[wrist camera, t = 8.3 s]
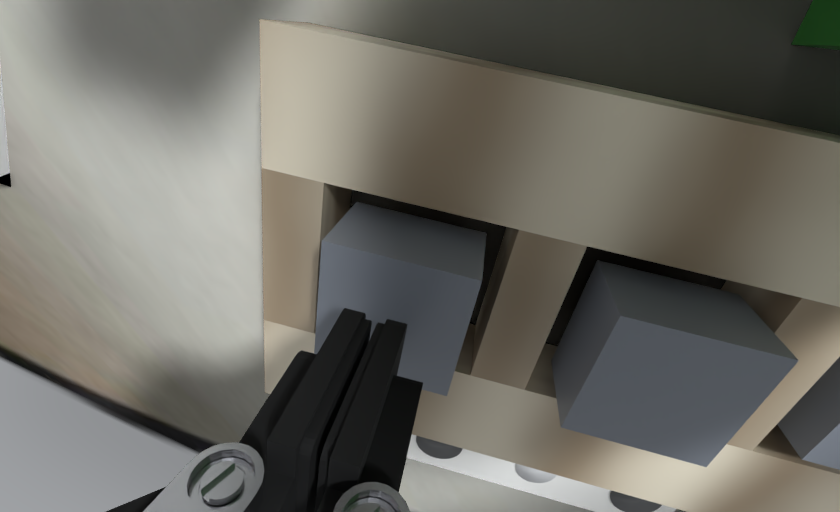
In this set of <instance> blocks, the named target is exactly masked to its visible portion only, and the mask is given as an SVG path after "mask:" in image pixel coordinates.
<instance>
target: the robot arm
mask: <svg viewBox="0 0 840 512" xmlns="http://www.w3.org/2000/svg"><path fill="white" fill-rule="evenodd" d="M365 318H366V314H365V313H363V312H359V311H355V310H351V309H347V308H344V309H343V311H342V312H341V314H340V316H339V317H338V319H337V321H336V323H335V324H334V326H333V328H332V329H331V331H330V333H329V335H328V336H327V338H326V340H325V341H324V343H323V345H322V347H321V348H320V350H319V352H318V353H317V354H314V353H310V352H306V351H302V350H301V351H299V352H298V353H297V355H296V356H295V357H294V359H293V360H292V362H291V363H290V365H289V366H288V368H287V370H286V371H285V373H284V374H283V376H282V377H281V379H280V380H279V382H278V383H277V385H276V387H275V388H274V390H273V391H272V393H271V394H270V396H269V397H268V399H267V400H266V402H265V403H264V405H263V407H262V408H261V410H260V411H259V413H258V414H257V416H256V417H255V419H254V420H253V422H252V424H251V425H250V427H249V428H248V430H247V431H246V433H245V434H244V436H243V437H242V439H241V441H240V442H239V443H238V442H235V443H222V444H219V445H215V446H212V447H210V448H208V449H206V450H204V451H203V452H201V453H199V454H198V455H197V456H196V457H195V458H194V459H192V460H191V461H190V462H189V463H188V464H187V465H186V466H185V467H184V468H183V470H182V471H181V472H180V473H179V474H178V475H177V476H176V477H175V478H174V479H173V480H172V481H171V482H170V483H169V485H168V486H167V487H165V488H162V489H160V490H157V491H155V492H152V493H150V494H148V495H145V496H143V497H140V498H138V499H136V500H133V501H131V502H128V503H126V504H123V505H121V506H118V507H116V508H114V509H111V510H109V511H107V512H410V511H409V508H408V506H407V503H406V501H405V500H404V499H403V498H402V496H401V495H400V494H399V493H398V492H399V488H400V484H401V479H402V475H403V470H404V466H405V462H406V457H407V453H408V448H409V444H410V439H411V435H412V431H413V426H414V422H415V417H416V413H417V408H418V404H419V400H420V395H421V391H422V386H423V382H419V381H415V380H411V379H408V378H404V377H400V376H397V373H398V368H399V364H400V359H401V354H402V349H403V345H404V340H405V335H406V330H407V324H406V323H402V322H398V321H394V320H390V319H387V320H386V322H385V324H383V323H379V322H378V323H377V324H376V327H375V329H374V331H373V333H372V336H371V338H370V332H371V326H372V321H371V320H367V319H365ZM369 339H370V340H369Z"/></svg>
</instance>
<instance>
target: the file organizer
mask: <svg viewBox="0 0 840 512" xmlns="http://www.w3.org/2000/svg"><path fill="white" fill-rule="evenodd" d="M0 183H1V184H4V185H7V186H9V187H11V180H10V169H9V157H8V145H7V133H6V121H5V109H4V97H3V86H2V74H1V62H0Z"/></svg>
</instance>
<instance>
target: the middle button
mask: <svg viewBox="0 0 840 512" xmlns="http://www.w3.org/2000/svg"><path fill="white" fill-rule="evenodd" d="M798 361H799V360H798V359H797V358H796V357H795V356H794V354H793V353H792V352H791V351H790V350H789V349H788V348H787V347H786V346H785V345H784V343H783V342H782V341H781V340H780V339H779V338H778V337H777V336H776V335H775V334H774V332H773V331H772V330H771V329H770V328H769V327H768V326H767V325H766V324H765V323H764V321H763V320H762V319H761V318H760V317H759V316H758V315H757V314H756V313H755V312H754V310H753V309H752V308H751V307H750V306H749V305H748V304H747V303H746V302H745V300H744V299H743V298H742V297H741V296H740V295H739V294H735V293H731V292H727V291H723V290H719V289H715V288H711V287H706V286H702V285H698V284H694V283H690V282H686V281H682V280H678V279H673V278H669V277H665V276H661V275H657V274H653V273H649V272H645V271H640V270H636V269H632V268H628V267H624V266H620V265H616V264H612V263H608V262H603V261H599V260H597V262H596V264H595V266H594V269H593V271H592V273H591V275H590V277H589V279H588V282H587V284H586V286H585V288H584V290H583V293H582V295H581V297H580V299H579V301H578V303H577V306H576V308H575V310H574V312H573V314H572V316H571V319H570V321H569V323H568V325H567V327H566V330H565V332H564V334H563V336H562V338H561V340H560V343H559V345H558V347H557V349H556V351H555V353H554V356H553V358H552V360H551V363H552V370H553V377H554V384H555V391H556V398H557V405H558V412H559V419H560V426H561V428H565V429H568V430H572V431H576V432H579V433H583V434H586V435H590V436H594V437H597V438H601V439H605V440H608V441H612V442H616V443H619V444H623V445H627V446H630V447H634V448H638V449H641V450H645V451H649V452H652V453H656V454H660V455H663V456H667V457H671V458H674V459H678V460H682V461H685V462H689V463H693V464H696V465H700V466H703V467H707V466H708V465H709V464H710V463H711V461H712V460H713V459H714V458H715V457H716V456H717V454H718V453H719V452H720V451H721V450H722V449H723V448H724V446H725V445H726V444H727V443H728V442H729V441H730V440H731V438H732V437H733V436H734V435H735V434H736V433H737V431H738V430H739V429H740V428H741V427H742V426H743V425H744V423H745V422H746V421H747V420H748V419H749V418H750V417H751V415H752V414H753V413H754V412H755V411H756V410H757V408H758V407H759V406H760V405H761V404H762V403H763V402H764V400H765V399H766V398H767V397H768V396H769V395H770V394H771V392H772V391H773V390H774V389H775V388H776V387H777V385H778V384H779V383H780V382H781V381H782V380H783V379H784V377H785V376H786V375H787V374H788V373H789V372H790V371H791V369H792V368H793V367H794V366H795V365H796V364H797V362H798Z"/></svg>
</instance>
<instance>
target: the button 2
mask: <svg viewBox="0 0 840 512" xmlns="http://www.w3.org/2000/svg"><path fill="white" fill-rule="evenodd" d="M777 425H778V426H779V428H780V429H781V431H782V432H783V433H784V435H785V436H786V438H787V439H788V441H789V442H790V443H791V445H792V446H793V448H794V449H795V451H796V452H797V453H798V455H799V456H800V458H801V459H802V460H805V461H809V462H813V463H816V464H820V465H824V466H827V467H831V468H835V469H839V470H840V357H839V358H838V359H837V360H836V361H835V362H834V363H833V364H832V366H831V367H830V368H829V369H828V370H827V371H826V372H825V373H824V374H823V375H822V376H821V377H820V378H819V380H818V381H817V382H816V383H815V384H814V385H813V386H812V387H811V388H810V389H809V390H808V391H807V392H806V393H805V395H804V396H803V397H802V398H801V399H800V400H799V401H798V402H797V403H796V404H795V405H794V406H793V407H792V409H791V410H790V411H789V412H788V413H787V414H786V415H785V416H784V417H783V418H782V419H781V420H780V421H779V423H778V424H777Z"/></svg>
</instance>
